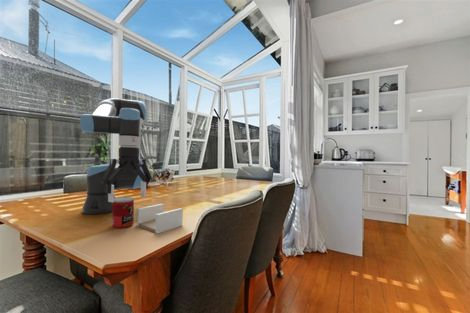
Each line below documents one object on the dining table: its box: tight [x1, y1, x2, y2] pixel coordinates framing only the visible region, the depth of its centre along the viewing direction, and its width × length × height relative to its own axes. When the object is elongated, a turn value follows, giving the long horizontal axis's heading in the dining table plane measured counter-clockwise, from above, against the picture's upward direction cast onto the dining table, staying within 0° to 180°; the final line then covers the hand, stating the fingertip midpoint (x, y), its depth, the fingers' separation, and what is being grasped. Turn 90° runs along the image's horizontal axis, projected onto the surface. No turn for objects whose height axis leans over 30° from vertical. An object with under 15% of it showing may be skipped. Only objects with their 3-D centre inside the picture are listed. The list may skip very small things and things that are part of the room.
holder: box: [135, 203, 184, 234], centre depth 91 cm, size 14×12×7 cm
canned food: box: [111, 196, 135, 229], centre depth 90 cm, size 8×8×11 cm
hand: (128, 199), depth 89 cm, fingers open, 13 cm apart
